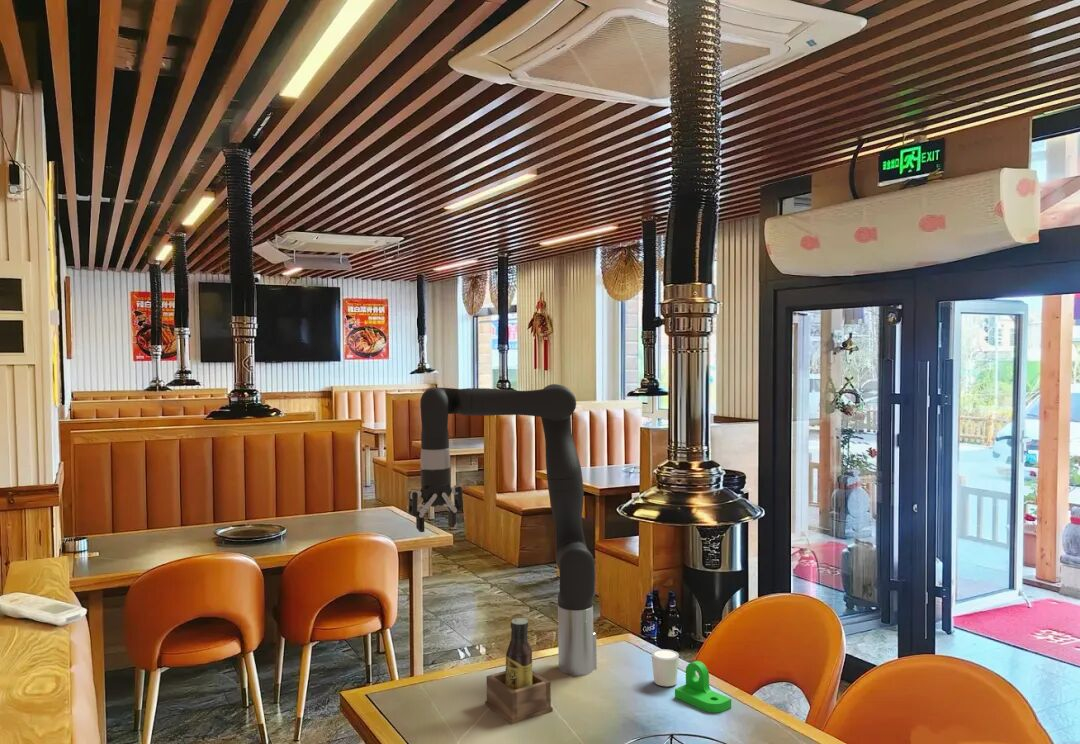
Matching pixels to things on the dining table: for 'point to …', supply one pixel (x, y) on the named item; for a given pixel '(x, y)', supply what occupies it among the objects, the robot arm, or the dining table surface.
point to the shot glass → (665, 667)
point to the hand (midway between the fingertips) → (436, 529)
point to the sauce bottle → (519, 656)
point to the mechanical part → (701, 690)
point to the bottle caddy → (518, 698)
